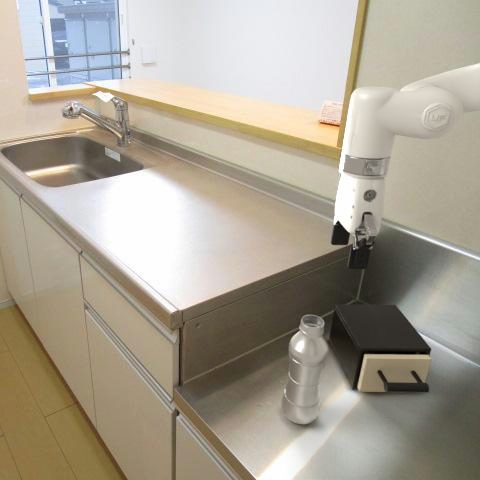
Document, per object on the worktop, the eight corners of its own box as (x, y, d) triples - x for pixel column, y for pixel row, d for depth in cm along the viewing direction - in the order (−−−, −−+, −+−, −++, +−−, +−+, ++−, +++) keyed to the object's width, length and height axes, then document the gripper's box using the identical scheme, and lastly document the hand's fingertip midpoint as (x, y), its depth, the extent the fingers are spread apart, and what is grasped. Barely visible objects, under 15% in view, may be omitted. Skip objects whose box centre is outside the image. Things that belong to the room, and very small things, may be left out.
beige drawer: (435, 412, 79) (446, 377, 76) (369, 411, 79) (377, 376, 76) (390, 346, 96) (397, 315, 92) (336, 346, 96) (341, 315, 93)
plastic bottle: (321, 409, 81) (338, 316, 73) (312, 435, 76) (329, 338, 68) (286, 396, 84) (298, 305, 76) (275, 420, 79) (286, 326, 71)
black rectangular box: (419, 389, 85) (431, 348, 81) (352, 389, 86) (360, 348, 82) (386, 342, 98) (395, 304, 94) (328, 341, 99) (334, 304, 95)
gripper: (410, 179, 67) (387, 279, 74) (367, 152, 83) (352, 236, 90) (359, 179, 68) (341, 278, 75) (326, 152, 83) (314, 236, 91)
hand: (347, 255), depth 83 cm, fingers open, 9 cm apart
